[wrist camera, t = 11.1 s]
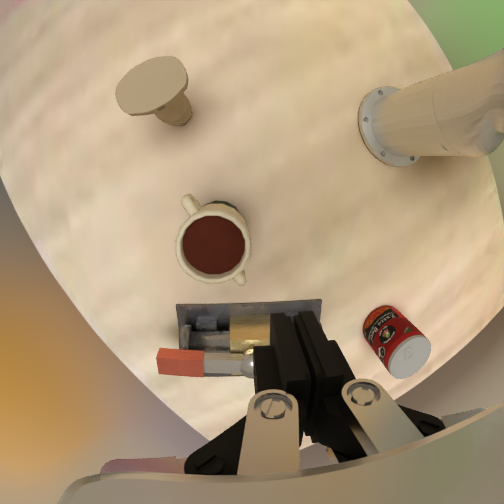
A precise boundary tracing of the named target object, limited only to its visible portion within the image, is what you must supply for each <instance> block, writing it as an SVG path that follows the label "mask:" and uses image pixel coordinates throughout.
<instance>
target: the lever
mask: <svg viewBox="0 0 504 504" xmlns="http://www.w3.org/2000/svg"><path fill="white" fill-rule="evenodd" d="M156 359H157V366H158V372H159V374H165V375H177V376H191V377H204V373H226V374H243V375H244V376H245V377H248V378H253V379H254V371H253V349H249V350H246V351H245V352H243V353H242V354H230V353H204V351H197V350H181V349H167V348H159V351H158V354H157V357H156Z"/></svg>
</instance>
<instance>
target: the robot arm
mask: <svg viewBox="0 0 504 504" xmlns="http://www.w3.org/2000/svg"><path fill="white" fill-rule="evenodd" d="M378 93H379V94H378ZM363 119H364V121H365V122H364V121H363ZM359 128H360V132H361V135H362V138H363V140H364V142H365V144H366V146H367V147H368V149H369V150H370V151H371V153H372V154H373V155H374V156H375V157H376V158H378V159H379V160H381V161H382V162H384V163H386V164H388V165H392V166H400V167H402V166H408V165H411V164H413V163H415V162H416V161H417V160H418V159H419V158H420V157H421V156H468V157H481V156H485V155H488V154H490V153H491V152H493V151H494V150H495V149H496V148H497V147H498V146H499V145H500V144H501V142H502V141H503V139H504V48H502V49H501V50H499V51H497V52H495V53H493V54H492V55H490V56H488V57H486V58H484V59H482V60H479V61H477V62H475V63H473V64H470V65H467V66H465V67H462V68H459V69H457V70H454V71H451V72H448V73H445V74H442V75H439V76H436V77H433V78H431V79H428V80H425V81H422V82H420V83H417V84H414V85H412V86H409V87H407V88H404V89H402V90H401V89H398V88H395V87H389V86H386V87H380V88H377V89H375V90H373V91H371V92H370V93H369V94H367V95H366V97H365V98H364V99H363V101H362V103H361V106H360V109H359ZM380 153H381V154H380ZM253 371H254V386H255V395H254V396H253V397H252V398H251V399H250V402H249V405H248V411H247V415H246V416H245V417H243V418H242V419H241V420H239V421H238V422H237V423H235V424H234V425H232V426H231V427H230V428H228V429H227V430H226V431H224V432H223V433H221V434H220V435H219V436H217V437H216V438H214V439H213V440H211V441H210V442H208V443H207V444H206V445H204V446H203V447H201V448H199V449H198V450H196V451H195V452H193V453H192V454H191V455H190V456H189V457H188V458H182V459H177V458H176V456H174V457H162V458H145V459H116V460H111V461H109V462H107V463H106V464H105V465H104V466H103V467H102V468H101V472H100V474H95V475H92V476H87V477H83V478H81V479H78V480H76V481H75V482H73V483H72V484H71V485H70V486H69V487H68V488H67V489H66V490H65V492H64V493H63V495H62V496H61V498H60V500H59V501H58V503H57V504H504V402H502V403H500V404H497V405H494V406H492V407H490V408H488V409H483V408H480V409H475V410H470V411H466V412H461V413H456V414H451V415H446V416H441V418H440V419H438V418H437V417H434V416H432V415H429V414H425V413H422V412H419V411H416V410H412V409H410V408H406V407H403V406H400V405H397V404H396V403H395V401H394V400H393V399H392V398H391V397H390V395H389V394H388V393H387V392H386V391H385V389H384V388H383V387H382V386H381V385H380V384H378V383H377V382H375V381H373V380H369V379H356V378H355V376H354V374H353V372H352V370H351V368H350V367H349V365H348V363H347V361H346V359H345V357H344V355H343V353H342V351H341V350H340V348H339V346H338V344H337V342H336V341H335V340H329V341H328V340H327V338H326V336H325V334H324V332H323V330H322V328H321V326H320V324H319V322H318V320H317V318H316V316H315V314H314V312H313V311H300V312H298V315H294V316H293V322H292V320H291V317H290V316H286V315H285V313H284V312H283V313H271V314H270V345H266V346H253ZM303 432H304V433H305V435H306V436H311V440H312V443H317V442H319V443H321V444H322V445H324V446H326V452H327V455H328V457H329V458H330V460H331V462H332V464H333V465H328V466H322V467H317V468H310V469H304V470H299V447H300V446H301V442H302V437H303Z"/></svg>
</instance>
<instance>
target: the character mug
mask: <svg viewBox="0 0 504 504" xmlns="http://www.w3.org/2000/svg"><path fill="white" fill-rule="evenodd" d="M181 202H182V205H183V207H184V208H185V210H186V211H187V213H188V214H189V216H190V217H189V218H188V219H187V220H186V221H185V223H184V224H183V225H182V226H181V228H180V230H179V233H178V236H177V238H176V256H177V259H178V262H179V264H180V266H181V268H182V269H183V270H184V271H185V272H186V273H187V274H188V275H189V276H191V277H192V278H193V279H196V280H198V281H201V282H204V283H223V282H225V281H228V280H231V279H234V281H235V282H236V283H237V284H238V285H239V286H243V285H244V284H245V283H246V277H245V272H244V268H245V266H246V264H247V262H248V260H249V257H250V248H251V239H250V235H249V232H248V228H247V226H246V223H245V221H244V218H243V217H242V216H241V215H240V213H239V212H238V210H237V208H236V207H235V206H233V205H231V204H230V203H228V202H225V201H214V202H211V203H208V204H206V205H205V206H203V207H201V206H200V205H199V203H198V202H197V200H196V199H195V197H194V196H192V195H191V194H188V195H185V196H184V197H183V198H182V200H181Z"/></svg>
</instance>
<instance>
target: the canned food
mask: <svg viewBox="0 0 504 504" xmlns="http://www.w3.org/2000/svg"><path fill="white" fill-rule="evenodd" d="M363 331H364V337H365V339H366V341H367V342H368V343H369V345H370V346H371V348H372V349H373V350H374V352H375V353H376V355H377V356H378V357H379V359H380V360H381V362H382V363H383V364H384V366H385V367H386V369H387V370H388V371H389V373H390V374H391V375H392V376H393V377H395V378H397V379H404V378H407V377H410V376H412V375H413V374H415V373H416V372H418V371H419V370H420V369H421V368H422V367H423V365H424V364H425V363H426V361H427V359H428V357H429V355H430V351H431V344H430V342H429V340H428V339H427V338H426V337H425V336H424V335H423V334H422V333H421V332H420V331H419V330H418V329H417V328H416V327H415V326H414V325H413V324H412V323H411V322H410V321H409V320H408V319H407V318H405V317H404V316H403V315H402V314H401V313H400V312H399V311H398V310H397V309H395V308H393V307H390V306H383V307H379V308H377V309H376V310H374V311H373V312H372V313H371V314H370V315H369V316H368V317H367V319H366V321H365V323H364V328H363Z"/></svg>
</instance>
